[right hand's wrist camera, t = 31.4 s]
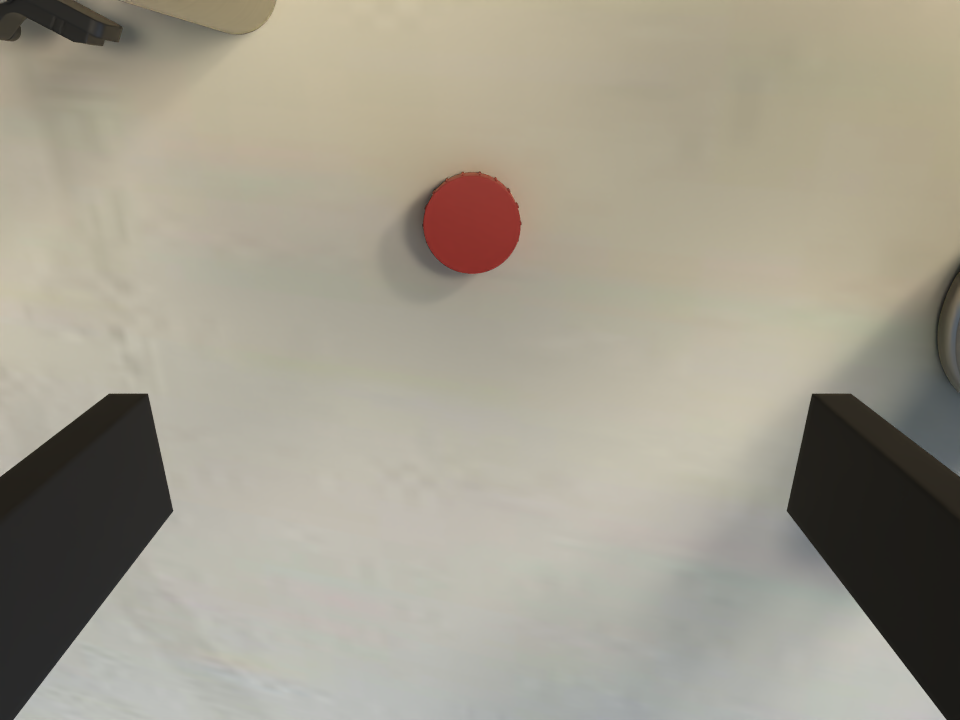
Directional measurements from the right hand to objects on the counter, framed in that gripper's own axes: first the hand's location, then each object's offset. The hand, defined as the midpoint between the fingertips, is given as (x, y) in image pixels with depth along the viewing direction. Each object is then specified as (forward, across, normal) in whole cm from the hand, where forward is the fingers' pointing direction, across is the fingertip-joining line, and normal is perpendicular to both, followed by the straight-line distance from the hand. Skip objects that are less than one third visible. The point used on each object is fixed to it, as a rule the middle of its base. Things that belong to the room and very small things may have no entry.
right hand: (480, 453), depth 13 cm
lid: (+26, 0, 0) cm, 26 cm away
